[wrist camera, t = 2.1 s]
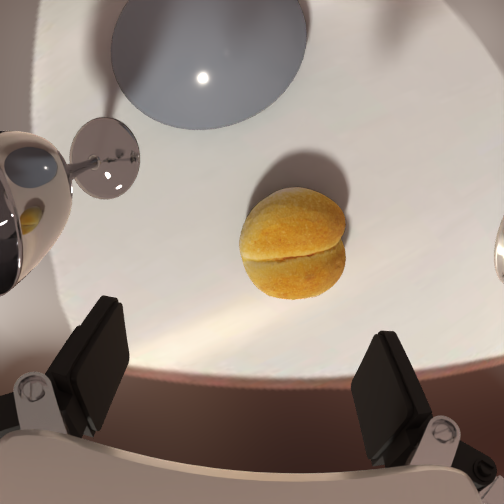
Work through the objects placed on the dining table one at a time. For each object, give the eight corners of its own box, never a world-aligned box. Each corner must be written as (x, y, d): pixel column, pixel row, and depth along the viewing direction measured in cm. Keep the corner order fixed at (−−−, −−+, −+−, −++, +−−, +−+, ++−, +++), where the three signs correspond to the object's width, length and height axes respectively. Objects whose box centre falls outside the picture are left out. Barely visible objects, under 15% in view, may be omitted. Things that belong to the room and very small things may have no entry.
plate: (312, -23, 16) (316, -33, 14) (289, 139, 22) (291, 142, 20) (138, -28, 16) (129, -36, 14) (113, 124, 22) (102, 126, 20)
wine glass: (96, 220, 26) (-14, 317, 12) (53, 150, 23) (-79, 204, 9) (162, 171, 24) (47, 253, 10) (113, 93, 21) (-34, 102, 7)
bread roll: (339, 179, 23) (355, 194, 19) (340, 278, 27) (352, 306, 23) (231, 190, 23) (227, 208, 20) (247, 289, 27) (247, 319, 24)
